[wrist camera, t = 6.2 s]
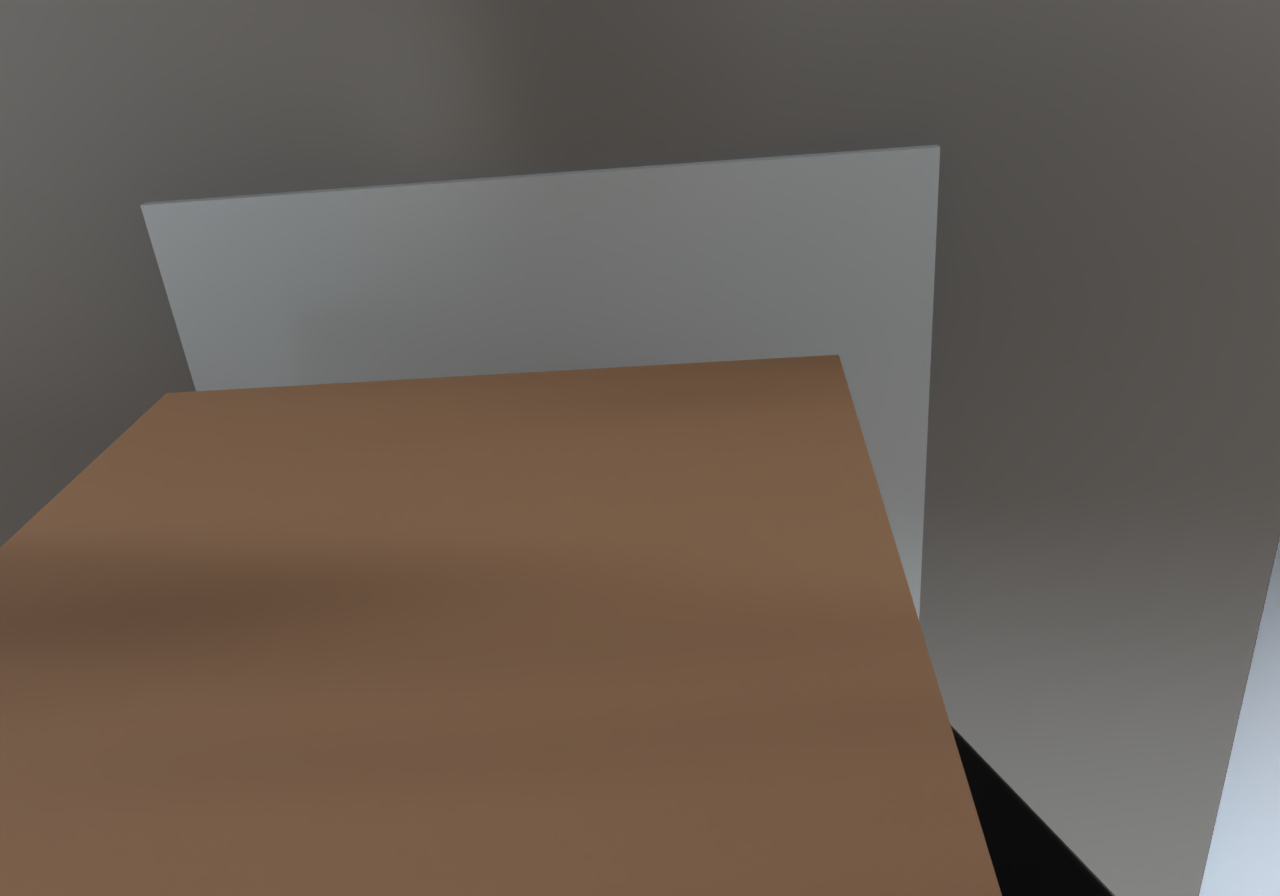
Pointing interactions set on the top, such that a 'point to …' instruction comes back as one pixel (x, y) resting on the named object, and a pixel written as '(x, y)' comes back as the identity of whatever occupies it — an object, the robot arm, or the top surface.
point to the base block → (479, 649)
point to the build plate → (734, 291)
